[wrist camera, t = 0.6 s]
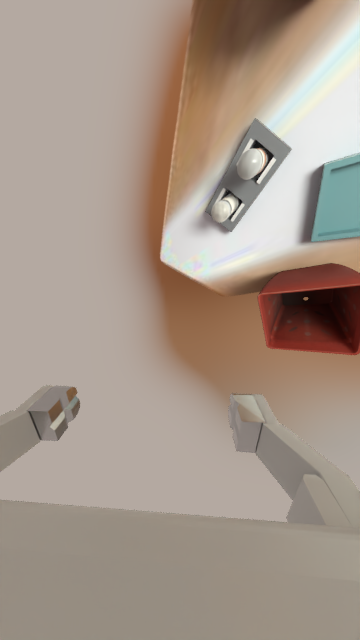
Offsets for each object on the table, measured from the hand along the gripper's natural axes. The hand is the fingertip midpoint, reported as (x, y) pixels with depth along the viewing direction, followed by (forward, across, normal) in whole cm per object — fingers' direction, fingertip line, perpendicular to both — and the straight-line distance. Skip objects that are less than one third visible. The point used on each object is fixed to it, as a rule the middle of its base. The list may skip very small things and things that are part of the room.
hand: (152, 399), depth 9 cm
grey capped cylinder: (+41, -16, -27) cm, 52 cm away
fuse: (+46, -13, -21) cm, 52 cm away
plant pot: (+45, -36, 0) cm, 58 cm away
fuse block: (+44, -15, -24) cm, 52 cm away
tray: (+35, -36, -19) cm, 54 cm away
